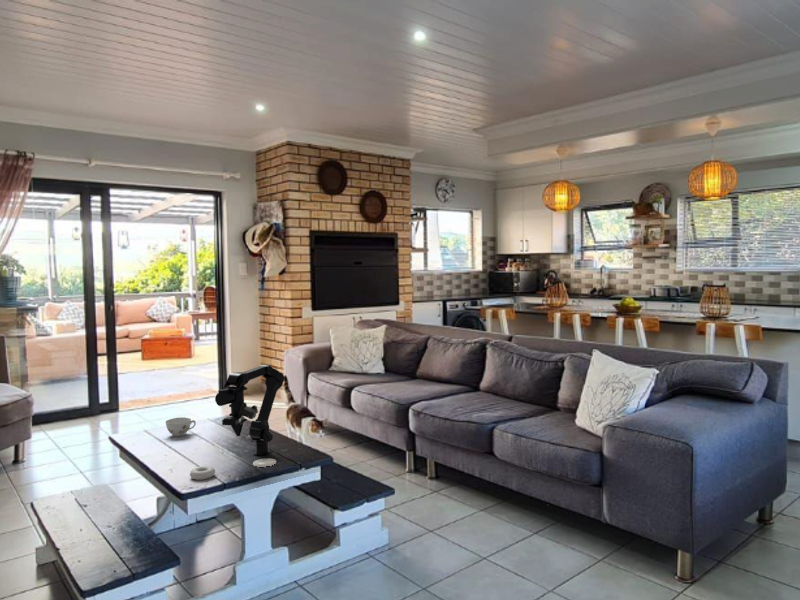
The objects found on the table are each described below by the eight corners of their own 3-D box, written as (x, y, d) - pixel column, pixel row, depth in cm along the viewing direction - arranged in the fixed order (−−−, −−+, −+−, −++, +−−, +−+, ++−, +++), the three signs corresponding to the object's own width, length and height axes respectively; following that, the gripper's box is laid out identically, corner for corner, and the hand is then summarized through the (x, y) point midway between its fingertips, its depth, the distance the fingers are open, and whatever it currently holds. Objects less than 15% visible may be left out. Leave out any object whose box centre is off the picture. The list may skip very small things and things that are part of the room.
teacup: (168, 440, 297) (168, 424, 296) (163, 434, 307) (163, 419, 307) (198, 435, 305) (198, 420, 305) (193, 429, 315) (192, 415, 315)
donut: (189, 475, 244) (190, 482, 235) (189, 466, 244) (190, 474, 235) (214, 471, 248) (216, 478, 239) (214, 463, 248) (216, 470, 239)
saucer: (258, 459, 263) (258, 457, 263) (279, 460, 261) (279, 458, 261) (249, 467, 253) (249, 465, 253) (270, 468, 251) (270, 466, 251)
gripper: (245, 406, 247) (246, 442, 248) (263, 397, 265) (263, 431, 266) (221, 406, 249) (222, 441, 250) (240, 396, 267) (241, 430, 268)
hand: (238, 436), depth 258 cm, fingers closed
